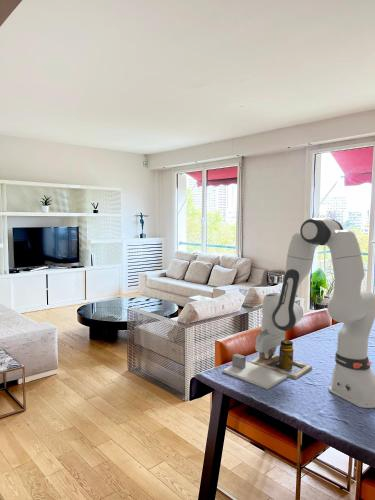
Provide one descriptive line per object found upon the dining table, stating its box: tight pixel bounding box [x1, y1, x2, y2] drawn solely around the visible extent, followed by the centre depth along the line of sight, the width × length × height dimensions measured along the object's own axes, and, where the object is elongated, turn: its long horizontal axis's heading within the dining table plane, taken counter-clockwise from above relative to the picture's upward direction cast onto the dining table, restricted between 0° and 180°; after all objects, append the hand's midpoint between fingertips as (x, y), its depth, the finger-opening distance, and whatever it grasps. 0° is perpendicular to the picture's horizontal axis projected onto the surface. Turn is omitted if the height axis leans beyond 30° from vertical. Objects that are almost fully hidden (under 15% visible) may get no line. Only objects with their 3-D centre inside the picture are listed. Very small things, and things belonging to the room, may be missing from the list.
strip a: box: [250, 349, 313, 380], centre depth 174 cm, size 22×15×6 cm, turn 46°
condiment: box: [271, 339, 296, 371], centre depth 173 cm, size 7×8×12 cm
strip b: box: [222, 353, 288, 390], centre depth 163 cm, size 22×15×6 cm, turn 46°
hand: (269, 356), depth 178 cm, fingers closed on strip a, 3 cm apart
